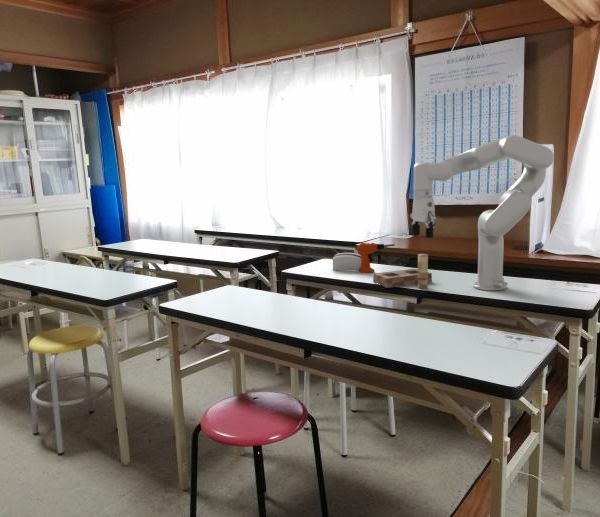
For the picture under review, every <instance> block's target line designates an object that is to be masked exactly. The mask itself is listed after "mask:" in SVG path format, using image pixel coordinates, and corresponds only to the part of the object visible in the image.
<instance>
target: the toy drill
mask: <svg viewBox="0 0 600 517" xmlns="http://www.w3.org/2000/svg"><path fill="white" fill-rule="evenodd" d="M395 246H396V245H395V243H390V244H384V243H375V242H371V243H369V242H361V243H360V244H359V245H357V247H356V253H357V254H359V255H361V260H362V262H361V268H359V271H358V273H359V272H360V273H359V274H372V273H371V272H374V273H375V269H374V268H372V267H371V262H373V260H374V258H373V257H372V255H371V254H372V253H374V252H377V251H380V250H383V249H385V248H388V247H395Z"/></svg>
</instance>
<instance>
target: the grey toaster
mask: <svg viewBox="0 0 600 517" xmlns="http://www.w3.org/2000/svg"><path fill="white" fill-rule="evenodd" d="M361 262H362V260H361V255H360V254H359V253H354V252H340V253H337V254H334V256H333V258H332V270H333V271H346V270H353V271H352V272H359V268H361ZM354 270H355V271H354Z"/></svg>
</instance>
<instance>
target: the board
mask: <svg viewBox="0 0 600 517" xmlns="http://www.w3.org/2000/svg"><path fill="white" fill-rule="evenodd" d="M372 274H373V275H372V276H373V277H372V280H373V283H374V282H375V283H374V284H376V283H378V284H377V285H379V284H380V285H379V286H381V285H382V286H381V287H384V288H387V289H388V288H394V287H393V286H398V287H402V286H401V285H406V286H411V285H413V284H414V285H418V268H409V269H401V270H393V271H383V272H377V273H376V272H374V273H372ZM432 282H433V273H432V272H429V271H428V283H429V284H430V283H432Z"/></svg>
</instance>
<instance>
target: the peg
mask: <svg viewBox="0 0 600 517" xmlns="http://www.w3.org/2000/svg"><path fill="white" fill-rule="evenodd" d="M428 262H429V254H426V253H418V254H417V269H418V284H417V289H420V290H426V289H429V284H428V272H429V263H428Z"/></svg>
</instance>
